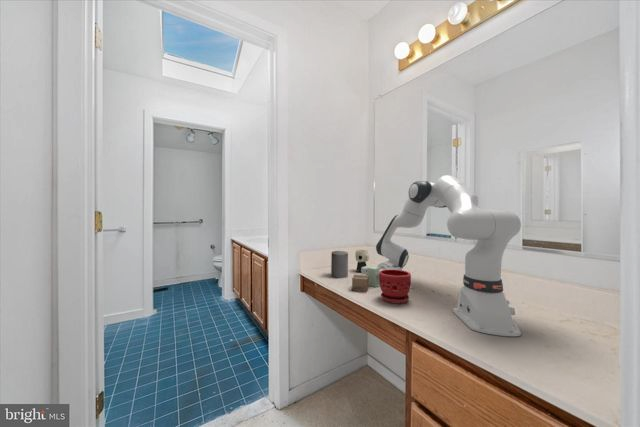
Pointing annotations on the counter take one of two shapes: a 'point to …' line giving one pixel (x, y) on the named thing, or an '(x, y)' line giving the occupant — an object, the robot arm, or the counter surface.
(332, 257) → the pillar candle
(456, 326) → the counter surface
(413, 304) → the counter surface
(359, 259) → the character mug
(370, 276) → the sage brick
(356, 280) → the walnut base
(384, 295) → the plant pot
